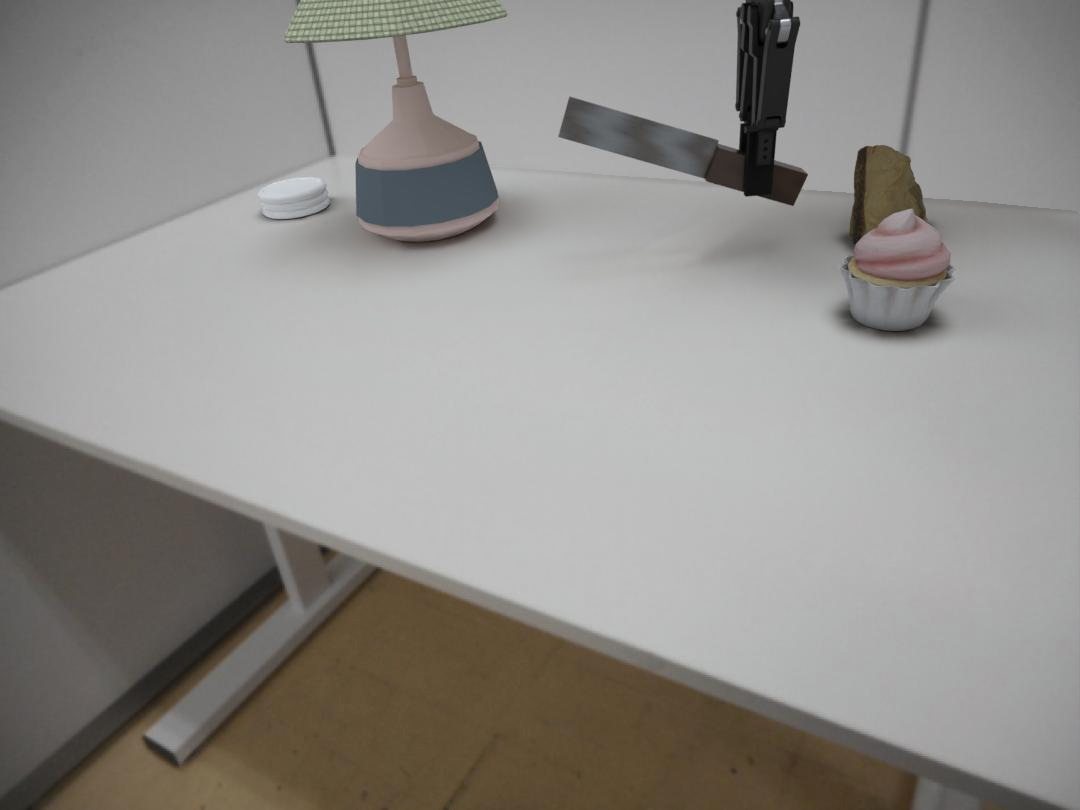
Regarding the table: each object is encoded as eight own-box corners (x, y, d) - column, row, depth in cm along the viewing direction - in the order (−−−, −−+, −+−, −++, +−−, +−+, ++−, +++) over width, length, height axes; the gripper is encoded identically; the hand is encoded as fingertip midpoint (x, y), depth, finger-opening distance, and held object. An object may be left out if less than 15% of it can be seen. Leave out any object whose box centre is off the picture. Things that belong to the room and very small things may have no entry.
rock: (913, 191, 88) (830, 188, 87) (955, 142, 80) (864, 138, 79) (929, 272, 84) (842, 268, 83) (974, 229, 76) (879, 225, 75)
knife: (787, 199, 81) (803, 163, 79) (793, 206, 79) (810, 169, 77) (557, 133, 77) (568, 94, 75) (558, 139, 75) (569, 98, 73)
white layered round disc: (311, 194, 118) (305, 172, 116) (342, 205, 112) (337, 182, 110) (252, 212, 113) (245, 189, 111) (281, 225, 106) (274, 200, 104)
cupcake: (923, 351, 62) (949, 236, 56) (815, 324, 67) (829, 216, 62) (961, 309, 67) (987, 200, 62) (858, 287, 73) (874, 185, 67)
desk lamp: (573, 214, 99) (546, -180, 76) (389, 282, 84) (290, -178, 62) (463, 182, 116) (415, -146, 94) (294, 235, 102) (190, -138, 79)
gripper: (712, -68, 73) (704, 173, 86) (751, -67, 60) (735, 216, 73) (789, -76, 73) (769, 167, 85) (845, -77, 60) (812, 210, 72)
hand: (753, 189), depth 79 cm, fingers closed on knife, 2 cm apart
